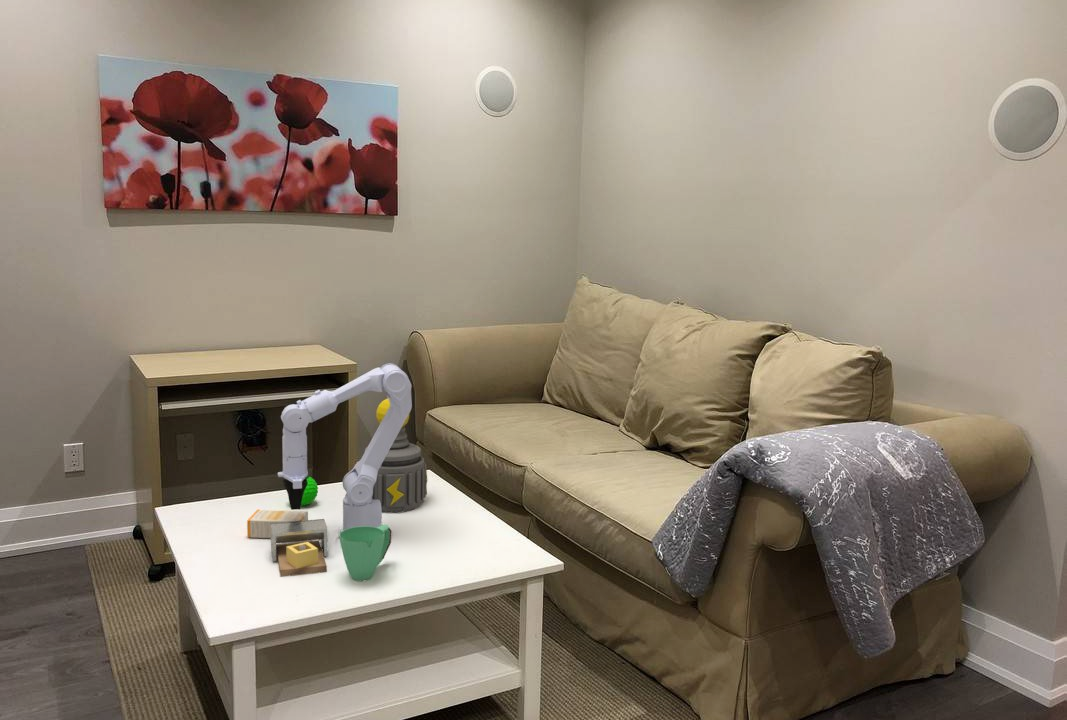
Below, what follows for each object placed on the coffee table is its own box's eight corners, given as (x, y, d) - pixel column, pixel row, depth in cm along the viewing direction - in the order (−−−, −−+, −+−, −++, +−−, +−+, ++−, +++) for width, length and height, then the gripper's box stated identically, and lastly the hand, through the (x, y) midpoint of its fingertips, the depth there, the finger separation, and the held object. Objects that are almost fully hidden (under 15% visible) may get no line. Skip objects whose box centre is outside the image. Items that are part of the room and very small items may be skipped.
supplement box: (246, 538, 218) (300, 540, 218) (246, 519, 217) (299, 521, 217) (257, 526, 226) (308, 528, 226) (257, 508, 225) (308, 510, 225)
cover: (324, 545, 214) (324, 518, 213) (327, 556, 208) (327, 528, 207) (271, 550, 210) (270, 523, 209) (272, 561, 204) (272, 533, 203)
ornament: (292, 499, 248) (291, 465, 246) (321, 500, 248) (321, 465, 246) (284, 509, 240) (283, 473, 238) (314, 510, 240) (313, 474, 238)
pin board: (319, 546, 214) (318, 524, 214) (326, 571, 200) (326, 548, 199) (276, 550, 211) (275, 528, 210) (280, 576, 196) (280, 553, 195)
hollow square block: (307, 556, 204) (307, 541, 204) (318, 563, 200) (318, 548, 200) (286, 561, 201) (286, 546, 200) (296, 568, 197) (296, 553, 197)
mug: (366, 589, 191) (366, 545, 190) (330, 579, 196) (330, 536, 194) (405, 566, 204) (406, 524, 202) (371, 557, 208) (371, 517, 207)
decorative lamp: (360, 515, 237) (360, 405, 232) (356, 493, 255) (356, 391, 250) (430, 511, 241) (431, 404, 237) (421, 490, 259) (423, 390, 255)
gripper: (275, 447, 219) (276, 500, 222) (279, 463, 206) (280, 519, 208) (305, 446, 222) (305, 498, 224) (310, 462, 208) (311, 517, 210)
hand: (295, 508), depth 216 cm, fingers closed
